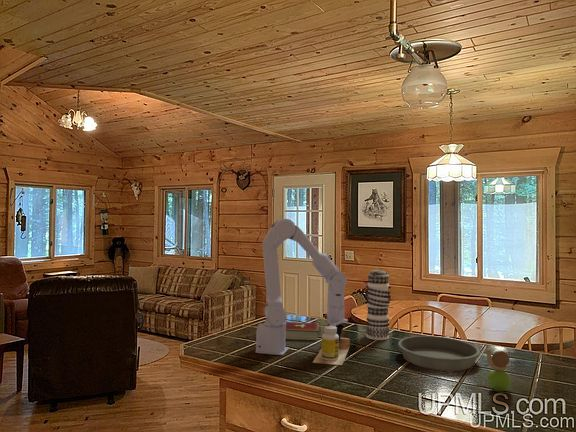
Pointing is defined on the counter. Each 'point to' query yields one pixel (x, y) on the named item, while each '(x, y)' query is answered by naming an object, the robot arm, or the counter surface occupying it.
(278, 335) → the robot arm
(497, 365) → the snail figurine
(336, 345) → the supplement bottle
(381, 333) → the decorative candle
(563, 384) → the counter surface
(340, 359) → the strip
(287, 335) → the hardcover book
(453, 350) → the cake pan
